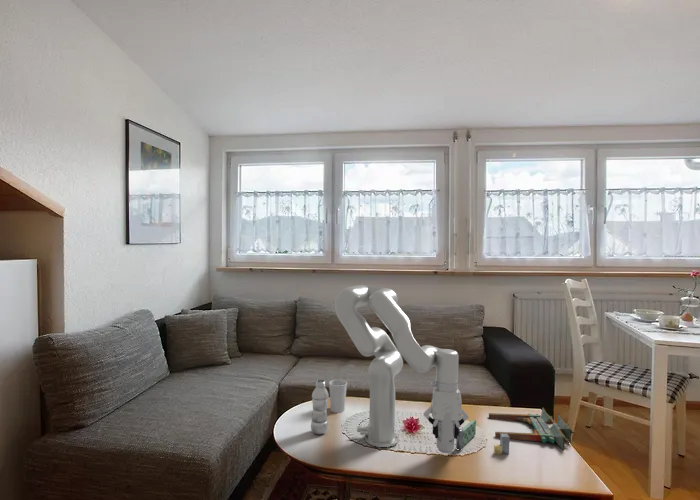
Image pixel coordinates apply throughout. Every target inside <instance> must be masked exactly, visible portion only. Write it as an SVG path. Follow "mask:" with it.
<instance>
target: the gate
mask: <svg viewBox="0 0 700 500" xmlns="http://www.w3.org/2000/svg"><path fill="white" fill-rule="evenodd" d="M476 426H477V421H476V419H472V420H471V421H469V423H467V424H466V425H465V426H463V428H461V429H462V430H463V447H465V445H466V444H467V442H468V443H469V441H471V440H472V439H471V438H473V437H475V436H476V429H477V427H476ZM474 435H475V436H474ZM470 439H471V440H470Z"/></svg>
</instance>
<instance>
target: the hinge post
mask: <svg viewBox="0 0 700 500" xmlns="http://www.w3.org/2000/svg"><path fill="white" fill-rule="evenodd" d="M462 429H463V428H459V436H457V439H455V440H456V442H455V443H456V444H455V445H456V446H455V449H456V448H457V449H459V450H461V449H462V450H463V447H464V446H463V430H462ZM462 446H463V447H462Z"/></svg>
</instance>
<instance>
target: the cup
mask: <svg viewBox="0 0 700 500" xmlns="http://www.w3.org/2000/svg"><path fill="white" fill-rule="evenodd" d="M328 385H329V389H328V390H329V403H330V404H329V405H330V407H329V408H330V409H329V410H330V412H332V413H336V414H337V413H338V414H339V413H344V411H345V410H346V407H345V406H346V399H347V398H346V397H347V388H348V387H347V386H348V381H346V380H345V379H344V380H343V379H332V380H330V381H329V382H328Z"/></svg>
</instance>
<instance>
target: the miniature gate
mask: <svg viewBox="0 0 700 500" xmlns="http://www.w3.org/2000/svg"><path fill="white" fill-rule="evenodd" d="M541 409H542V410H541V413H540V414H538V413H536V414H531V413H527V414H526V413H525V414H524V413H497V412H496V413H494V412H492V413H491V412H489V413H488V419H494V420H503V421H519V422H520V421H521V422H527V423H528V424H529V425H532V427H533V431H532V432H511V431H510V432H509V431H508V432H507V431H495V432H494V433H495V438H496V439H500V434H508V436H509V440H512V441H513V440H514V441H533V442H541V443H547V442H549V443H552V444H554V443H556V444H557V445H558V447H559V448H560V449H561V450H562V451H565V442H568V443H570V444H571V443H572V434H576V431H574V430H573V429H572V428H571V426H570V423H566V421H565V420H563V418H562V416H561V415H560V414H557V420H556V421H557V422H555V420H554V419H553V415H549V414H548V413H547V411H546V409H545V408H544V407H542V408H541Z"/></svg>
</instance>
